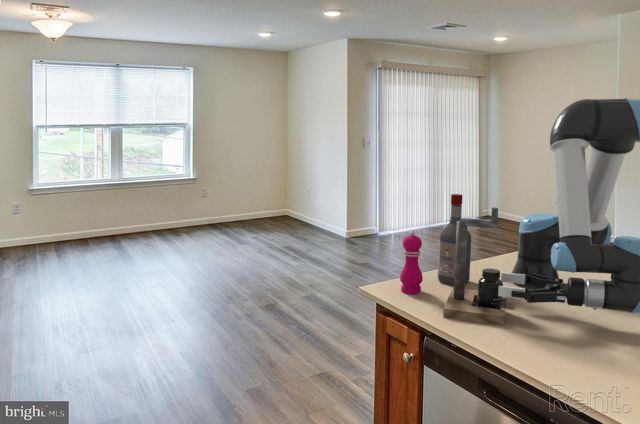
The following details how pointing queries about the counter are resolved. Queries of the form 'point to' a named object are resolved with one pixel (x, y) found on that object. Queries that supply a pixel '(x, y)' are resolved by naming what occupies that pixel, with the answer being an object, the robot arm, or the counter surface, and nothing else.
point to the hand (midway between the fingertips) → (499, 283)
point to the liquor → (452, 245)
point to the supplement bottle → (489, 289)
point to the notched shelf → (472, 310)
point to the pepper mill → (411, 265)
